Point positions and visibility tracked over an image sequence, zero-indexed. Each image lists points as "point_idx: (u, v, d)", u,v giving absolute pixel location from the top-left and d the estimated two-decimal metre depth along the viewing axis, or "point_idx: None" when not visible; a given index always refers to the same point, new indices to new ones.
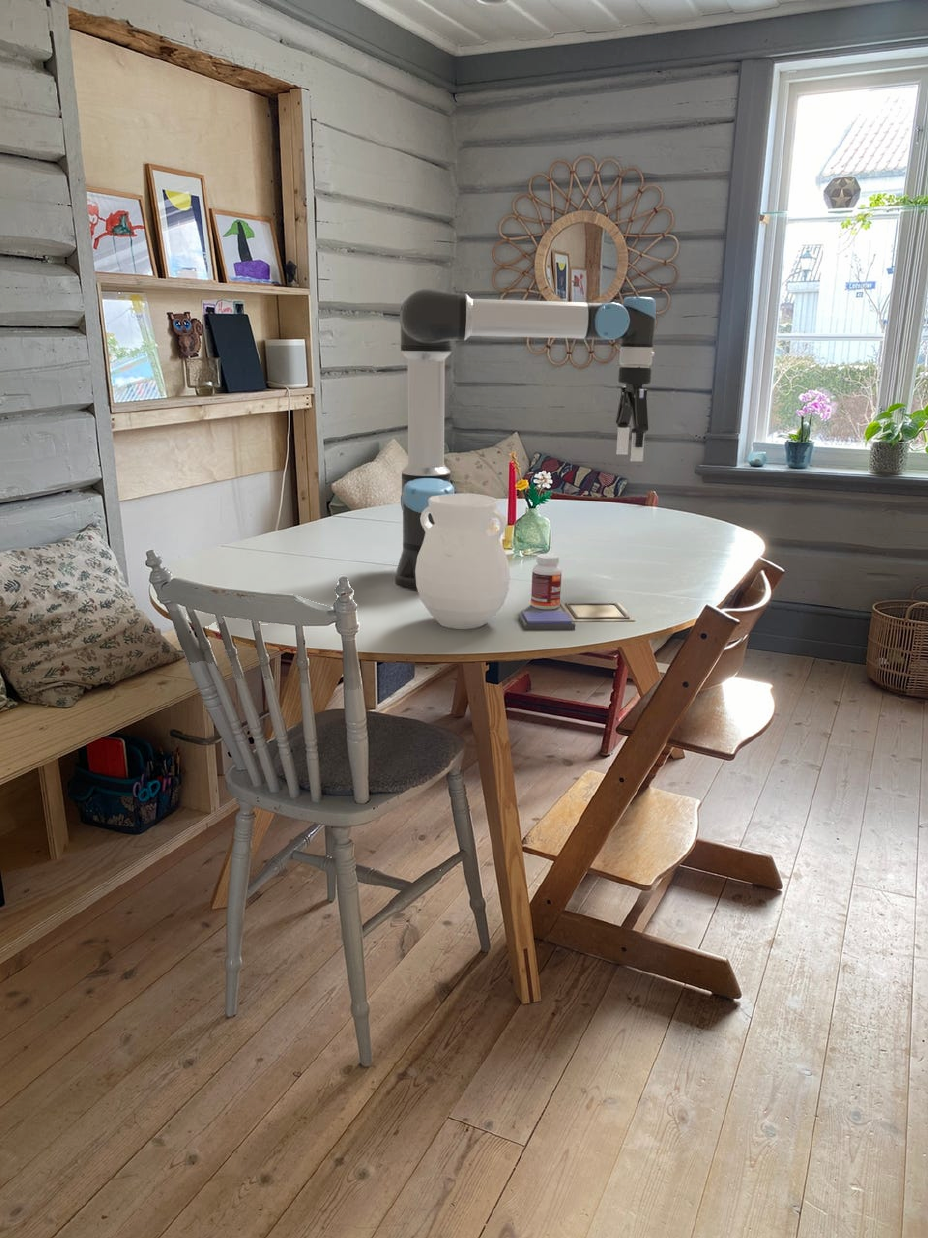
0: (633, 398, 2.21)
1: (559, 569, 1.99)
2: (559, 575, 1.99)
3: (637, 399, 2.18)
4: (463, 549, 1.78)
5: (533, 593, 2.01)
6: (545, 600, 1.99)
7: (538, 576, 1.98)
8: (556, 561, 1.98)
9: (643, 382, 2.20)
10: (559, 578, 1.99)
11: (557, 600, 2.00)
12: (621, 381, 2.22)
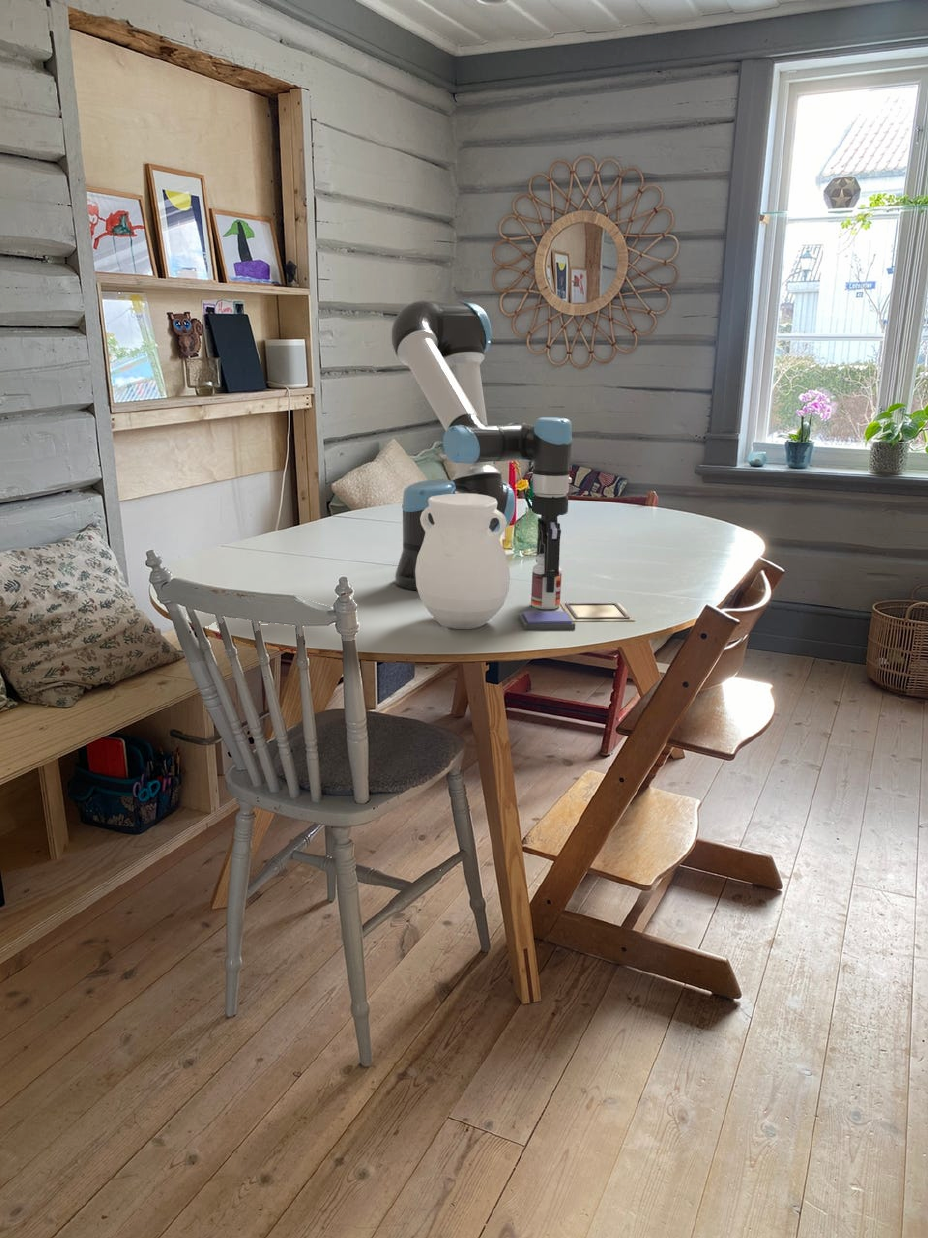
0: (547, 531, 1.95)
1: (559, 569, 1.99)
2: (559, 575, 1.99)
3: (549, 541, 1.92)
4: (463, 549, 1.78)
5: (533, 593, 2.01)
6: None
7: (539, 576, 1.98)
8: None
9: (558, 514, 1.94)
10: (559, 578, 1.99)
11: (557, 600, 2.00)
12: (534, 511, 1.95)
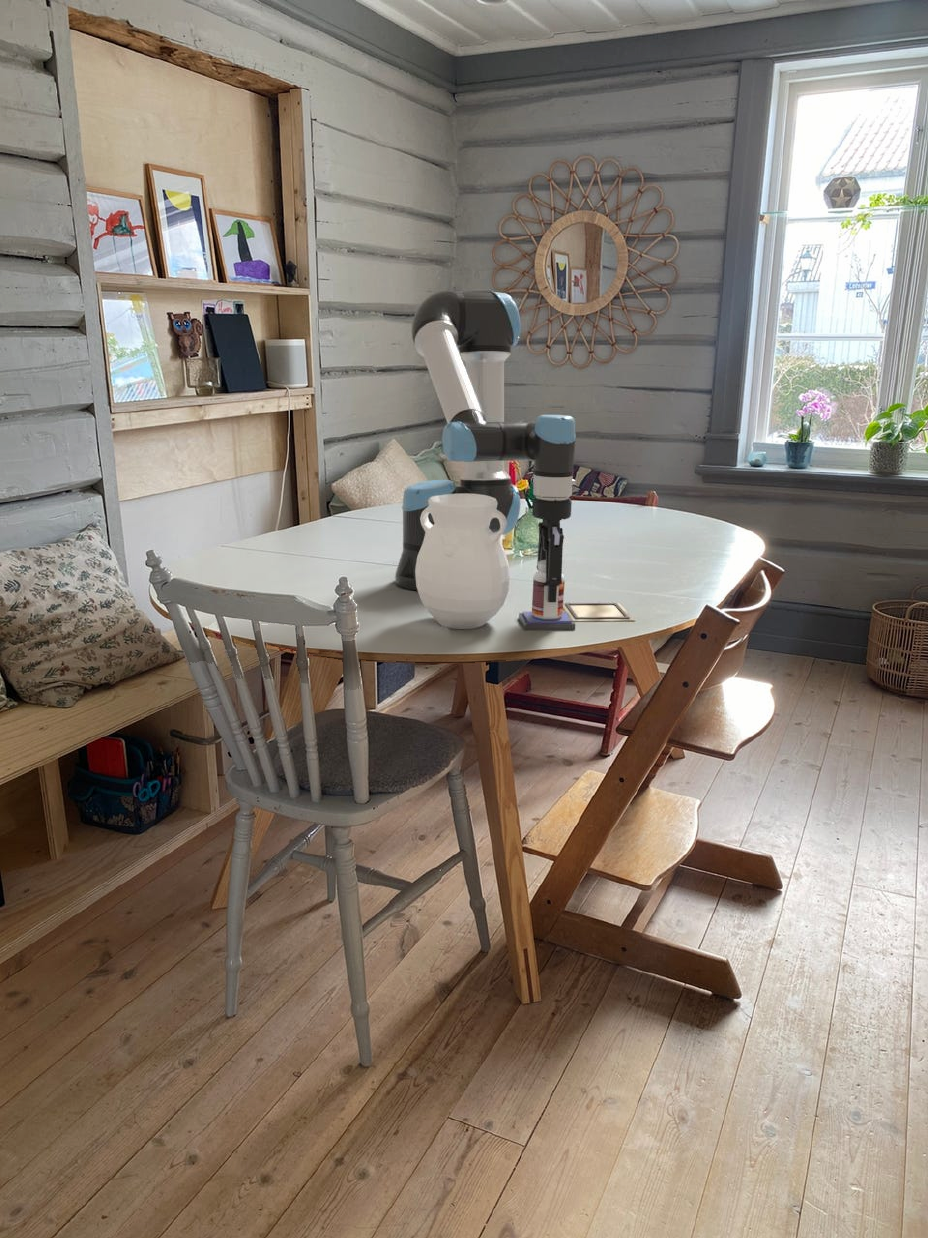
0: (549, 537, 1.82)
1: (562, 576, 1.86)
2: (562, 583, 1.86)
3: (551, 547, 1.79)
4: (463, 549, 1.78)
5: (534, 602, 1.87)
6: None
7: (540, 584, 1.85)
8: None
9: (561, 518, 1.80)
10: (562, 586, 1.86)
11: (560, 610, 1.87)
12: (535, 515, 1.82)
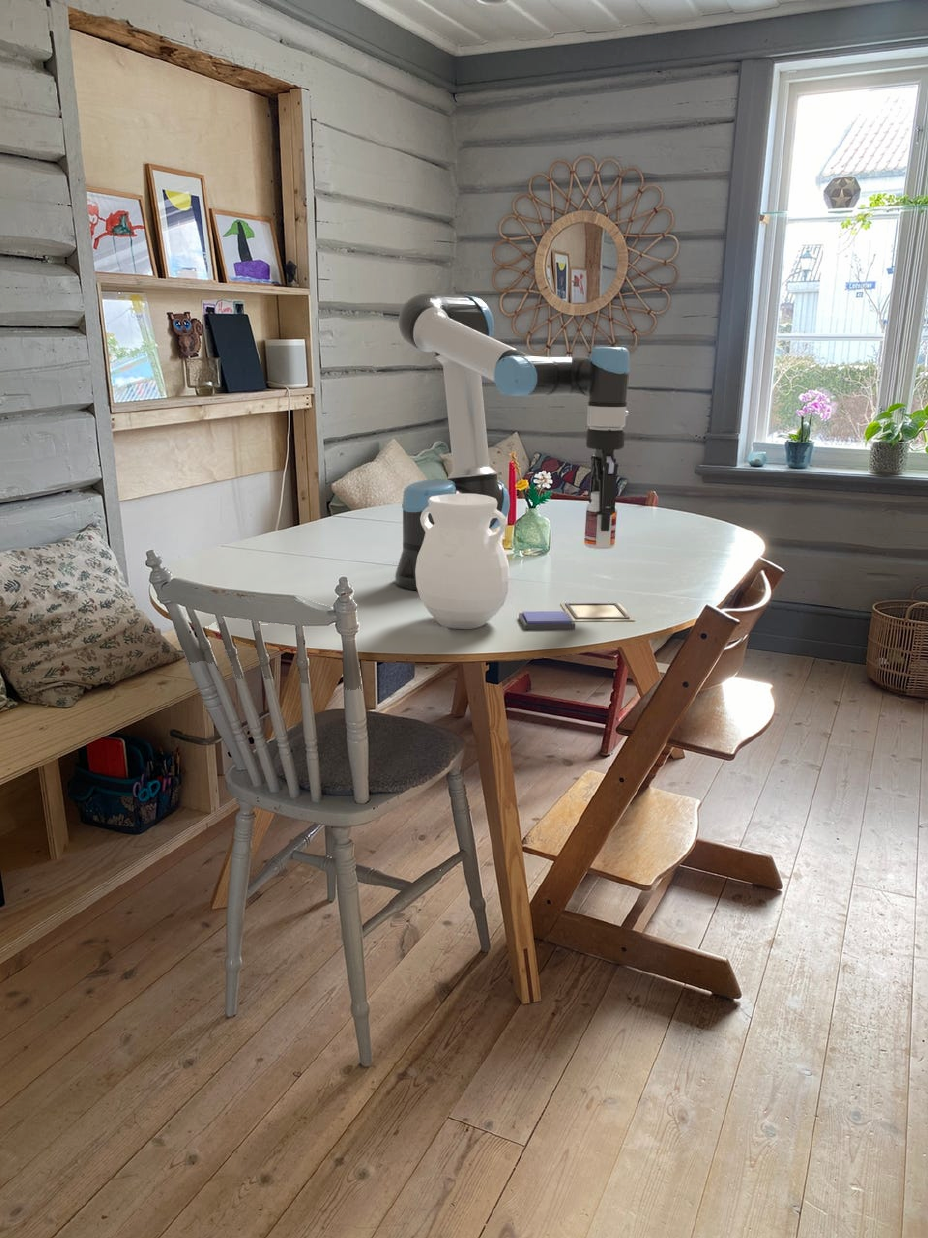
0: (603, 466, 1.86)
1: None
2: (614, 513, 1.91)
3: (605, 476, 1.84)
4: (463, 549, 1.78)
5: (586, 532, 1.92)
6: None
7: (593, 514, 1.90)
8: None
9: (615, 447, 1.85)
10: (614, 516, 1.91)
11: (612, 540, 1.92)
12: (589, 446, 1.87)
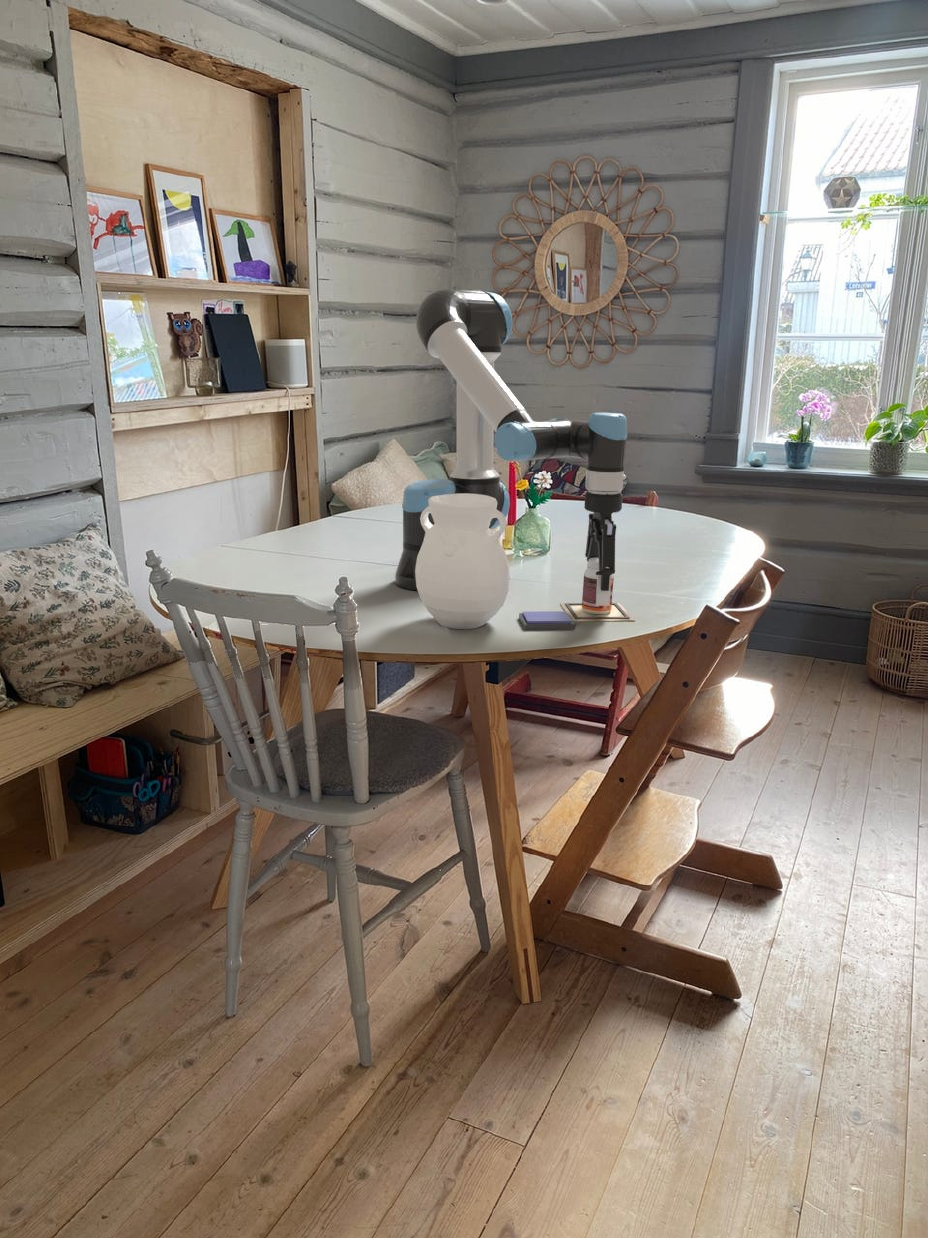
0: (601, 529, 1.90)
1: None
2: (611, 579, 1.95)
3: (604, 537, 1.87)
4: (463, 549, 1.78)
5: (584, 597, 1.97)
6: None
7: (591, 580, 1.95)
8: None
9: (612, 511, 1.89)
10: (611, 582, 1.95)
11: (609, 605, 1.97)
12: (587, 509, 1.91)
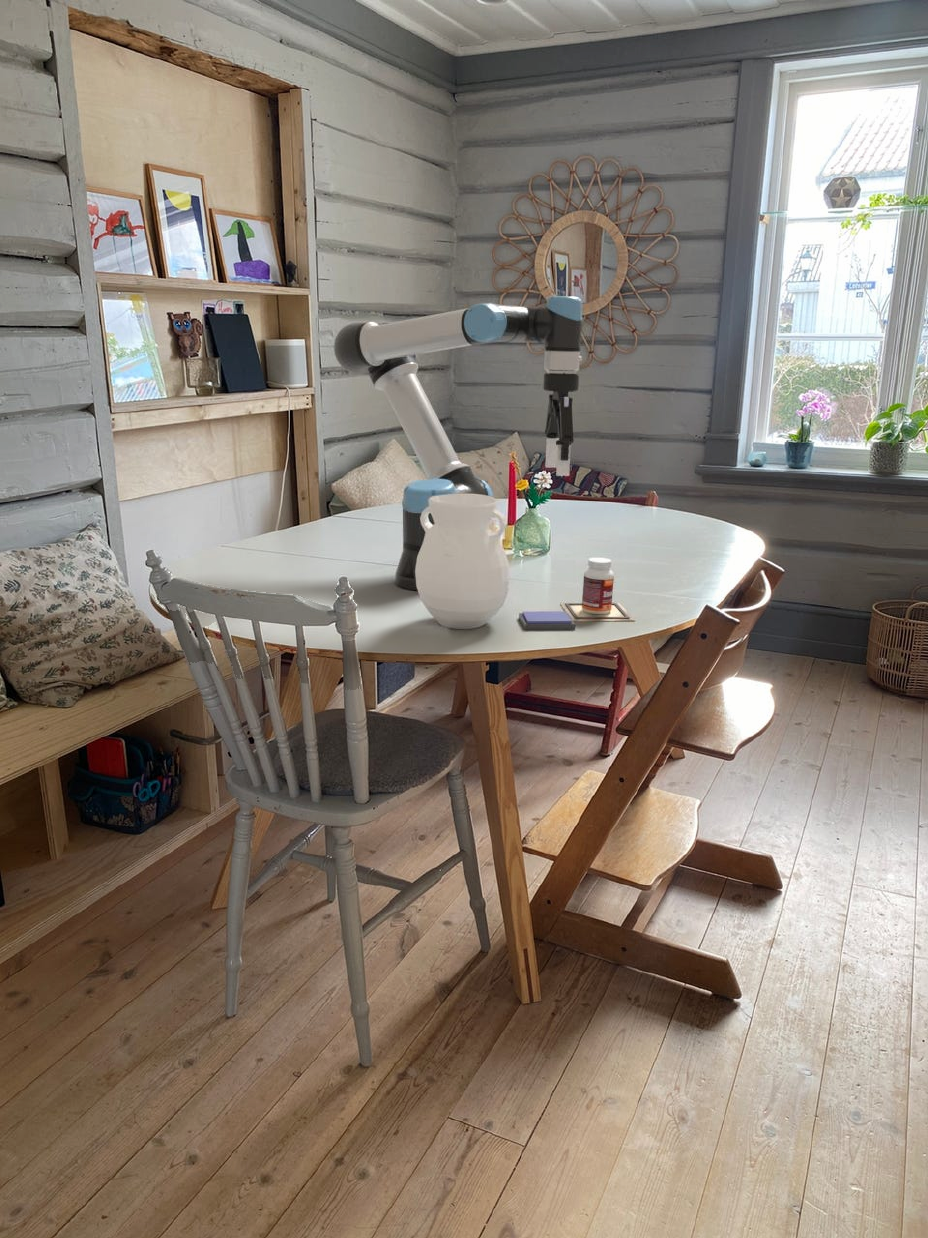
0: (559, 407, 2.02)
1: (611, 573, 1.95)
2: (611, 579, 1.95)
3: (562, 408, 1.99)
4: (463, 549, 1.78)
5: (584, 597, 1.97)
6: (597, 604, 1.95)
7: (591, 580, 1.95)
8: (609, 565, 1.94)
9: (569, 389, 2.01)
10: (611, 583, 1.95)
11: (609, 605, 1.97)
12: (546, 388, 2.03)
